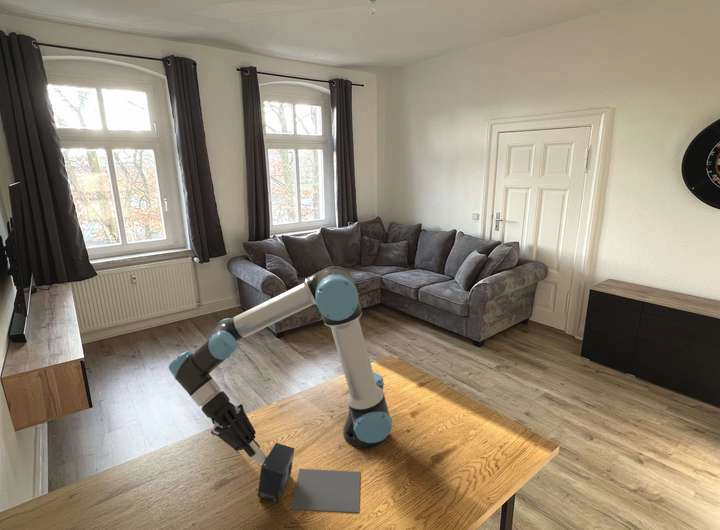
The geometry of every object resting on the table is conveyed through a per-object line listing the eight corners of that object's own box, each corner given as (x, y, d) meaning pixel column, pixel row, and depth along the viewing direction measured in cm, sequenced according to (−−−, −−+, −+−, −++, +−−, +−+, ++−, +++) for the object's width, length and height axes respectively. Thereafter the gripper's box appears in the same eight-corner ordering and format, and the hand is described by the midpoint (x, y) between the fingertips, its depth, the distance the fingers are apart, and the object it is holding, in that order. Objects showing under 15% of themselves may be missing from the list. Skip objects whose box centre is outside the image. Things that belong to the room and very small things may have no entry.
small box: (278, 503, 109) (281, 473, 106) (256, 497, 110) (259, 466, 108) (291, 476, 119) (295, 447, 117) (272, 470, 120) (275, 441, 118)
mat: (360, 472, 122) (360, 471, 122) (358, 513, 107) (358, 512, 107) (299, 469, 122) (299, 468, 122) (290, 509, 107) (290, 508, 107)
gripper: (217, 393, 121) (266, 452, 120) (188, 417, 109) (242, 483, 108) (232, 381, 118) (281, 441, 118) (203, 404, 106) (259, 471, 105)
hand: (263, 461), depth 113 cm, fingers closed
